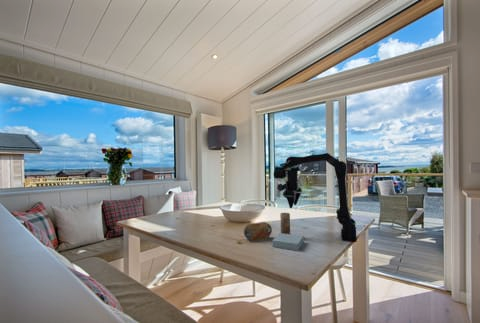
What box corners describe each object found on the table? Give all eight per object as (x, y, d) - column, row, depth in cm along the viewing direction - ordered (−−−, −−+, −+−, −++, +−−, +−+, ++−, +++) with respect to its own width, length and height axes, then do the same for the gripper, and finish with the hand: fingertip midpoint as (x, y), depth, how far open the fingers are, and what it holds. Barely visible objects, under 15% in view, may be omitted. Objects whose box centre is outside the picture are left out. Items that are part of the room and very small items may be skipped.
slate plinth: (303, 242, 115) (303, 236, 115) (297, 250, 104) (297, 243, 104) (280, 238, 121) (280, 233, 121) (272, 246, 110) (272, 240, 110)
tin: (245, 241, 119) (244, 224, 119) (243, 239, 122) (242, 223, 122) (272, 238, 123) (271, 222, 123) (269, 236, 126) (269, 220, 126)
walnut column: (291, 235, 127) (290, 213, 127) (288, 237, 122) (288, 215, 122) (282, 233, 129) (281, 212, 129) (279, 236, 124) (279, 214, 124)
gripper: (283, 177, 142) (284, 203, 142) (273, 180, 126) (273, 208, 126) (301, 177, 137) (302, 204, 137) (293, 180, 121) (294, 210, 121)
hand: (293, 206), depth 130 cm, fingers open, 9 cm apart
